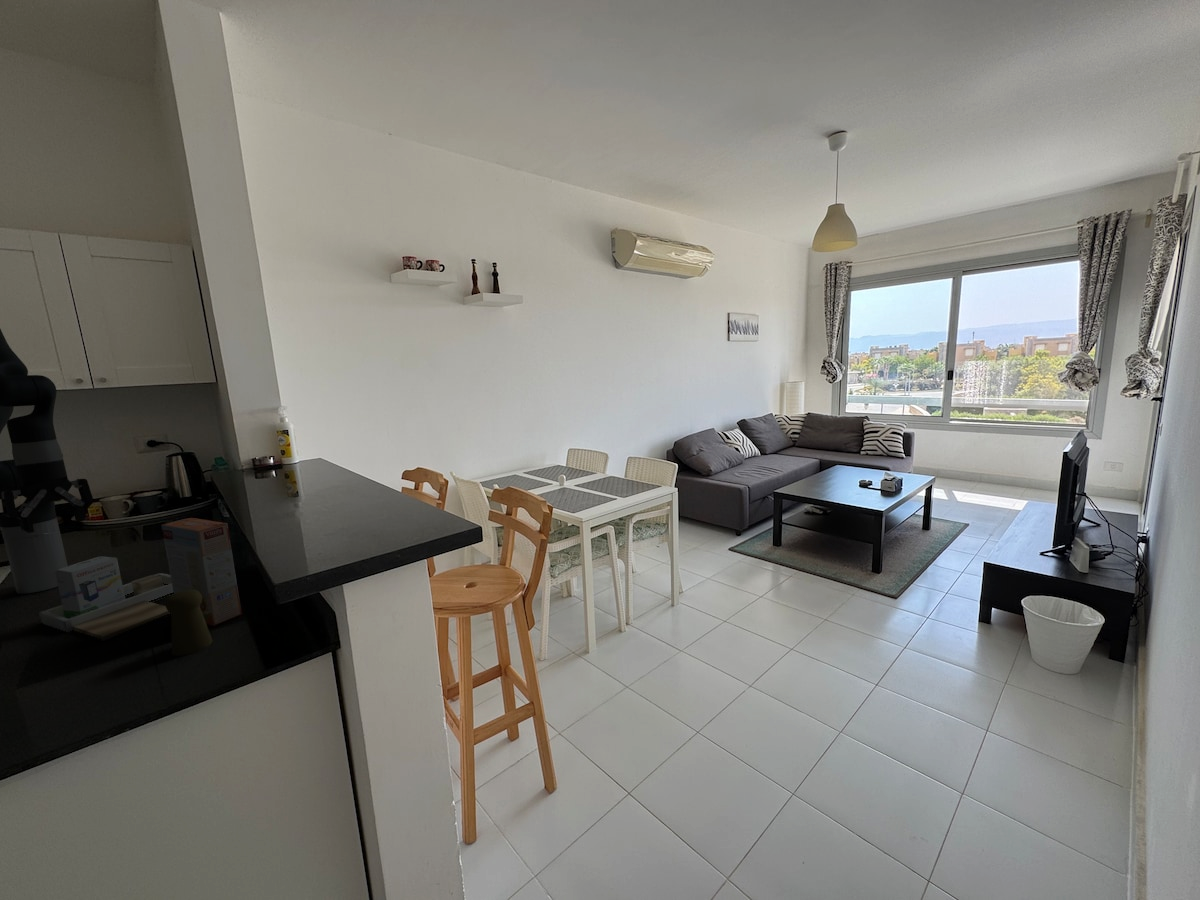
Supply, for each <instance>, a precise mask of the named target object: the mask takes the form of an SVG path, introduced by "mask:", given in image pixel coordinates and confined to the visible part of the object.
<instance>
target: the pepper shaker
mask: <svg viewBox="0 0 1200 900" xmlns="http://www.w3.org/2000/svg"><path fill="white" fill-rule="evenodd" d="M201 602H202V596H201V594H200V592H198V591H197V590H185V591H181V592H178V593H175V594H172V595H169V596H168V597H167V599H166V601H165V606H166V608H167V610H168V612H170V613H171V625H170V626H171V655H173V656H176V657H178V656H179V657H180V656H187V655H191V654H194V653H196V652H199V651H202V650H204V649H206V648H207V647H209V646H210V645H211V644H213V639H212V638H213V637H212V635H211V633H210V630H209V627H208V624H206V622H205V619H204V616H203V614H202V611H201V609H200V604H201Z"/></svg>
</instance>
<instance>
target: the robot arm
mask: <svg viewBox="0 0 1200 900" xmlns="http://www.w3.org/2000/svg"><path fill="white" fill-rule="evenodd" d="M56 399H57V387H56V384H55V383H54V381H52V380H51V379H50V378H49V377H47V376H44V375H40V374H39V375H38V374H30V375H29V370H28V368H27V366H26V365H25V363H24V362H23V361H22V360H21V359H20V358H19V356H18V355H17V353H15V351H13V350H12V347H11V346H10V345H9V344H8V342H7V340H6V338H5V335H4V333H3V331H2V329H1V328H0V435H1V433H2V432H3V430H4V429H5V427H6V428H7V431H8V435H9V439H10V443H11V455H12V457H13V459H6V460H5V459H4V460H0V500H1V507H2V513H1V514H0V530H1V534H2V539H3V542H4V545H5V546H4V547H5V551H6V554H7V558H8V563H9V566H10V570H11V575H12V578H13V579H12V580H13V583H14V586H15V591H16V594H21V595H24V594H32V593H33V594H34V593H39V592H43V591H47V590H51V589H54V588H57V587H58V583H57V578H56V574H55V572H56V571H57V570H58V569H60V568H64V567H67V566H69V565H68V562H67V556H66V553H65V548H64V545H63V543H64V542H63V540H62V535H61V531H60V527H59V522H58V518H57V514H56V503H55V502H59V501H60V502H61V501H62V500H63V501H65V502H67V503H69V504H71V505H72V511H73V516H74V520H75V522H79V523H80V522H83V521H84V519H86V517H87V514H86V510H85V505H86V504H88V503H90V502H93V501H94V498H93V494H92V491H91V489H90V485H89V482H88V479H86V478H77V479H75V480H71V481H70V479H69V478H68V474H67V470H66V465H65V461H64V453H63V452H62V450H61V446H60V444H59V442H58V438H57V435H56V430H55V426H54V414H55V413H54V410H55V404H56ZM29 406H30V407H31V406H33V409H32V411H31V412H30V413H29V414H25V415H22V416H17V417H12V414H13V412H14V407H29ZM11 417H12V418H11ZM72 487H74V488H75V489H78V493H79V496H80V499H79V498H78V497H76V496H75V495H74V494H72V493H70V492H69V491H70V489H71V488H72ZM18 497H23V498H25V500H24V501H23V502H22V503H21V504H19V505H18V506H16V504H15V500H17V499H18Z"/></svg>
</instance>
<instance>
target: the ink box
mask: <svg viewBox="0 0 1200 900" xmlns="http://www.w3.org/2000/svg"><path fill="white" fill-rule="evenodd" d="M55 574H56V578H57V583H58V592H59V596H60V602H61V605H62V606H63V611H64V615H65V618H68V619H70V618H73V617H75V616H78V615H81V614H84V613H87V612H90V611H93V610H96V609H99V608H101V607H104V606H107V605H110V604H113V603H116V602H119V601H122V600H125V599H126V596H125V595H124V590H123V585H124V584H123V581H122V577H121V572H120V567H119V561H118V558H117V557H114V556H104V555H103V556H101V555H100V556H96V557H93V558H90V559H87V560H84V561H79V562H77V563H74V564H70V565H68V566H67V567H64V568H60V569H58V570H57V571H56V572H55Z"/></svg>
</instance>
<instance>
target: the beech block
mask: <svg viewBox="0 0 1200 900" xmlns="http://www.w3.org/2000/svg"><path fill="white" fill-rule="evenodd" d="M155 575H156V574H150V575H148V576H144V577H142V578H138V579H135V580H132V581H131V582H132V586H133V591H134V593H133V596H136V595H139V594H142V593H145V592H148V591H150V590H153V589H156V588H159V587H162V586H164V584H163V582H162V577H159V576H155Z"/></svg>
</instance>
